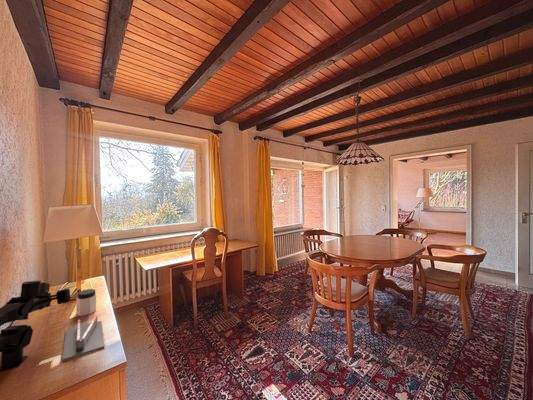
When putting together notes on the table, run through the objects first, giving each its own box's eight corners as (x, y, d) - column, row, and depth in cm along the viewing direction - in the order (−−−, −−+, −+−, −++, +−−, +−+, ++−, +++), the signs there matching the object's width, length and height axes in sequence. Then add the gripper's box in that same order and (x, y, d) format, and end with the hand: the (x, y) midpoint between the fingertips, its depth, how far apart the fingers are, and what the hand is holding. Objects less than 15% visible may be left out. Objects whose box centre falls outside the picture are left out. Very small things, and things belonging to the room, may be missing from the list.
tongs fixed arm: (83, 350, 96) (83, 340, 96) (75, 352, 95) (76, 342, 95) (83, 326, 114) (84, 317, 114) (77, 327, 113) (77, 319, 113)
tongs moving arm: (84, 346, 98) (84, 338, 98) (81, 347, 98) (81, 338, 98) (97, 323, 117) (97, 315, 117) (95, 323, 117) (95, 316, 117)
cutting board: (104, 347, 100) (104, 345, 100) (62, 361, 91) (62, 359, 91) (101, 322, 120) (101, 320, 120) (66, 332, 111) (66, 330, 111)
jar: (74, 313, 129) (74, 292, 129) (90, 307, 136) (91, 287, 136) (81, 317, 125) (81, 295, 125) (98, 311, 132) (98, 290, 132)
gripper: (56, 280, 102) (77, 275, 117) (6, 291, 98) (35, 285, 113) (58, 305, 101) (79, 297, 116) (8, 318, 96) (36, 307, 111)
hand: (58, 296), depth 114 cm, fingers open, 9 cm apart
